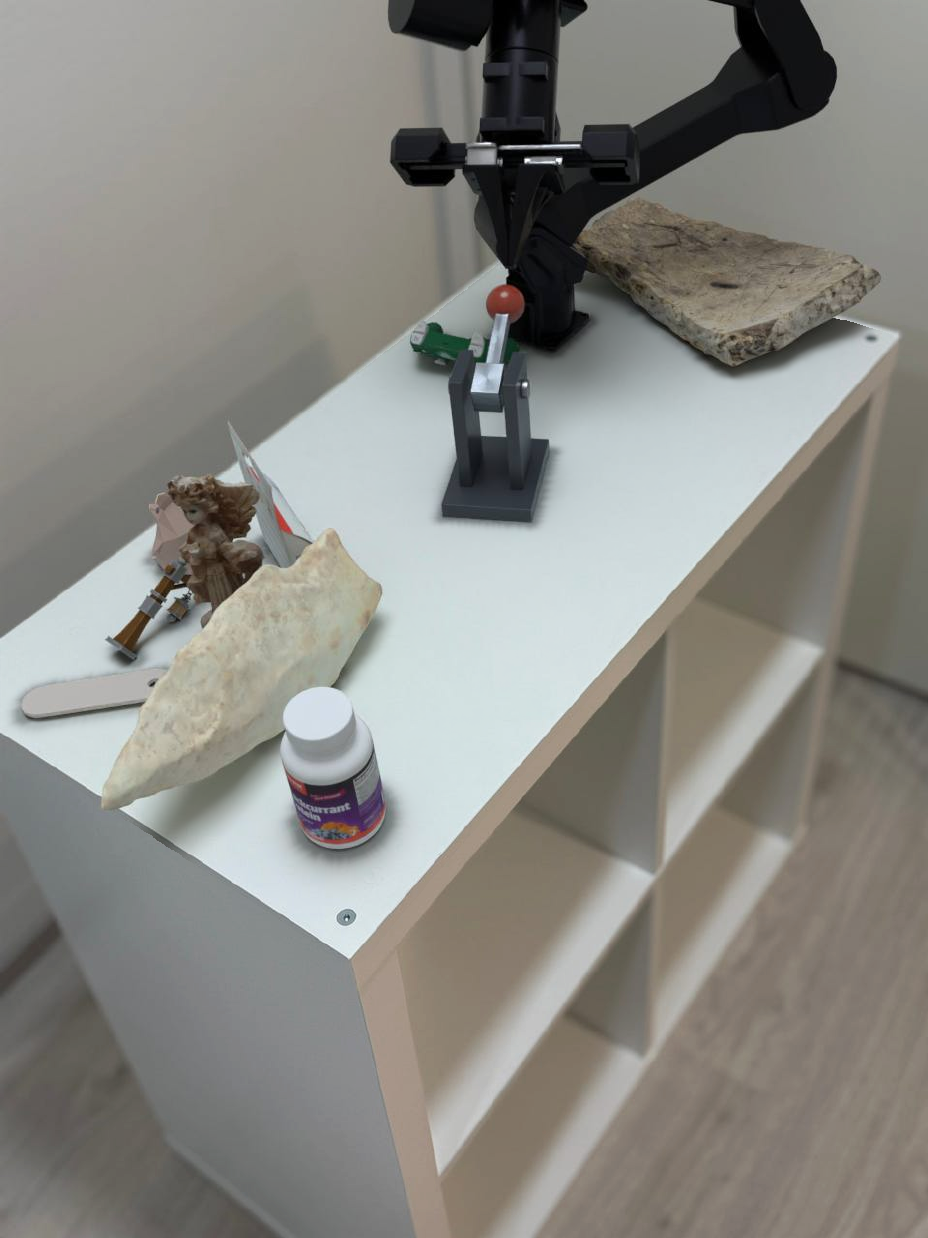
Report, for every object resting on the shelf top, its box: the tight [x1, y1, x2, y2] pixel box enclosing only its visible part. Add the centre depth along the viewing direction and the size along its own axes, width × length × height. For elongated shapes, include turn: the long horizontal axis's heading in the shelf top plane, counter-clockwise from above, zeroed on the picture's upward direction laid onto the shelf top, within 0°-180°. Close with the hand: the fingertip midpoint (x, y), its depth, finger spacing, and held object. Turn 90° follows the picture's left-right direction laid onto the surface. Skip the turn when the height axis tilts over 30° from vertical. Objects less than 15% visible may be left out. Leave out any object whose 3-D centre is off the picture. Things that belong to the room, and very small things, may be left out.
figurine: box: [166, 472, 266, 629], centre depth 83 cm, size 7×6×15 cm
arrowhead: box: [100, 527, 383, 811], centre depth 79 cm, size 10×6×25 cm
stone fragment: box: [574, 196, 882, 367], centre depth 115 cm, size 28×6×20 cm
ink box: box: [226, 420, 315, 568], centre depth 90 cm, size 3×9×12 cm, turn 26°
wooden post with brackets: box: [104, 557, 194, 661], centre depth 90 cm, size 2×8×4 cm, turn 139°
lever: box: [470, 283, 525, 414], centre depth 95 cm, size 11×3×3 cm, turn 168°
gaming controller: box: [409, 319, 521, 366], centre depth 111 cm, size 9×4×6 cm
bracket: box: [440, 350, 551, 523], centre depth 96 cm, size 9×7×11 cm
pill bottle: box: [279, 687, 387, 850], centre depth 74 cm, size 5×5×10 cm
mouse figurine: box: [148, 492, 195, 576], centre depth 93 cm, size 5×8×7 cm, turn 58°
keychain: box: [21, 668, 168, 719], centre depth 86 cm, size 10×1×3 cm
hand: (509, 267), depth 97 cm, fingers closed
